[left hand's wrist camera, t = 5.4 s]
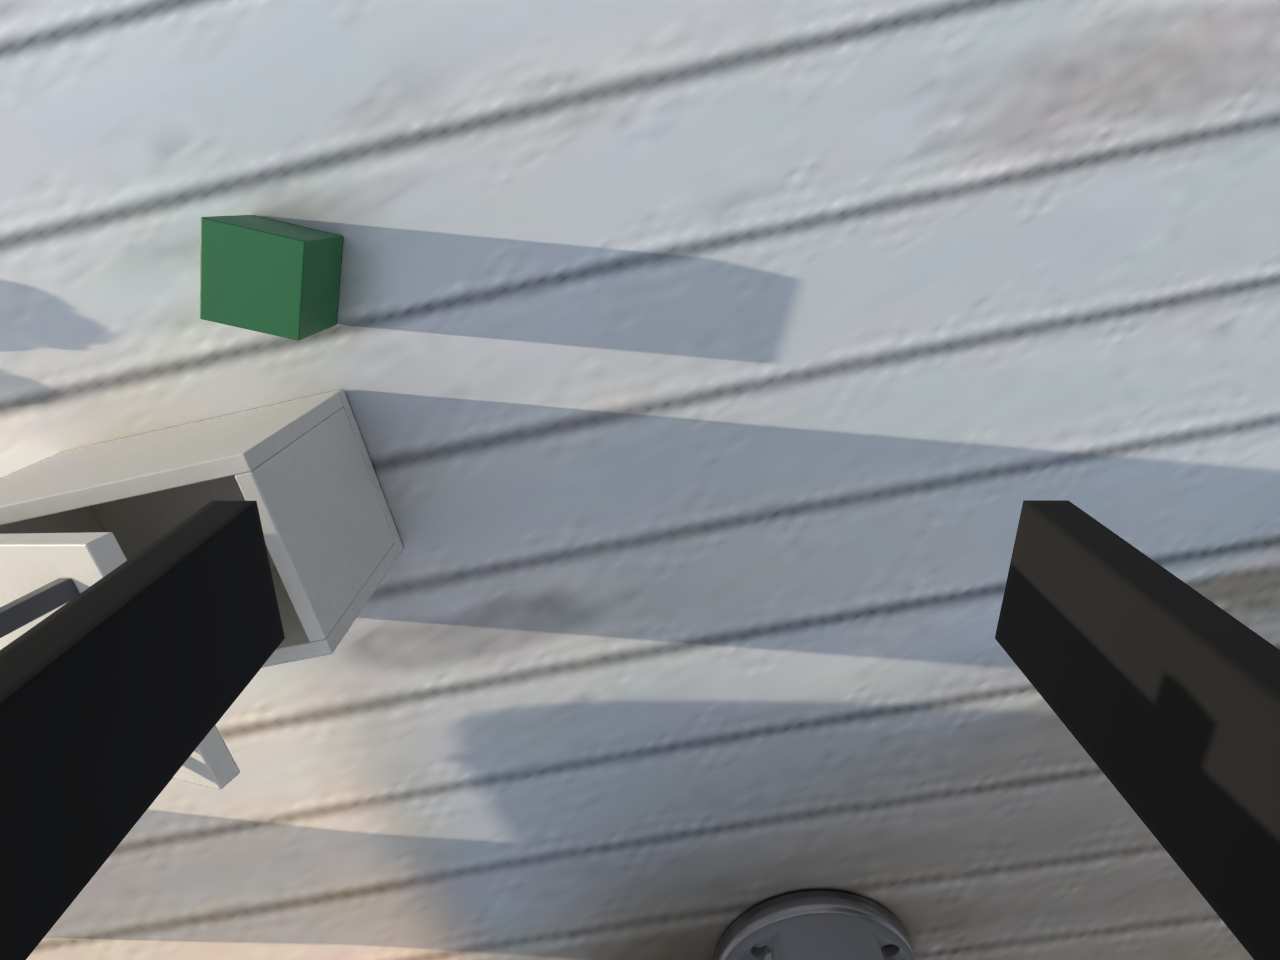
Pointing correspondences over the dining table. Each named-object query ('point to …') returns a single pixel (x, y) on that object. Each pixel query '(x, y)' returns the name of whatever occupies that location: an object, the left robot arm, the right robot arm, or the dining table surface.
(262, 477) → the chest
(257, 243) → the block
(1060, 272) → the dining table surface
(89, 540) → the lid
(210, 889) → the dining table surface
